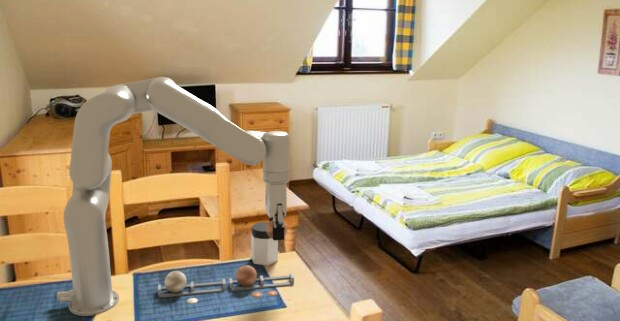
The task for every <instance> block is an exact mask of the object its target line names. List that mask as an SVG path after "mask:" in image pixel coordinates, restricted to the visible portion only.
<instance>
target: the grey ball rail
mask: <svg viewBox="0 0 620 321" xmlns="http://www.w3.org/2000/svg"><path fill="white" fill-rule="evenodd" d="M228 279H229V281H228V284H229V289H230V290H231V291H232V292H235V291H246V290H257V289H267V288H278V287H279V288H280V287H287V286H288V287H289V286H294V284H295V276H294V274H293V273H292V272H289V274H288V275H279V276H278V275H277V276H270V277H269V276H267V277H264V275H259V277H256V280H255V282H254V283H256V282H260V284H257V285H255V284H252V285H250V286H243V285H241V286H234V284H239V283H238V281H237V279H234V280H233V278H232V277H230V278H228ZM278 280H289V282H286V281H285V282H279V283H278V282H276V283H268V284H266V283H264V282H267V281H268V282H269V281H278ZM211 286H222V287H221V288H211V289H200V290H195V288H200V287H211ZM189 288H190V291H180V292H176V293H173V292H166V293H162V291H169V290H168V289H167V288H166V287H165V285H164V286H162V284H159V283H158V285H157V296H159V298H171V297H180V296H193V295H202V294H203V295H204V294H212V293H224V292H225V290H226V289H227V284H226V279H225V278H222V280H219V281H212V282H199V283H194V281H190V283H189V284H187V283H186V286H185V287H184V289H189Z"/></svg>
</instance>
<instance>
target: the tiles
mask: <svg viewBox="0 0 620 321" xmlns="http://www.w3.org/2000/svg"><path fill="white" fill-rule="evenodd" d="M278 293H279V292H278V291H277V290H269V291H266V294H267V296H270V297H274V296H277V295H278ZM262 296H263V293H262V292H260V291H255V292H254V291H253V292H252V293H251V297H252V298H261V297H262ZM198 302H199V299H198V298H195V297H191V298H188V299H187V300H186V303H187V304H190V305H193V304H197V303H198Z"/></svg>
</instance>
